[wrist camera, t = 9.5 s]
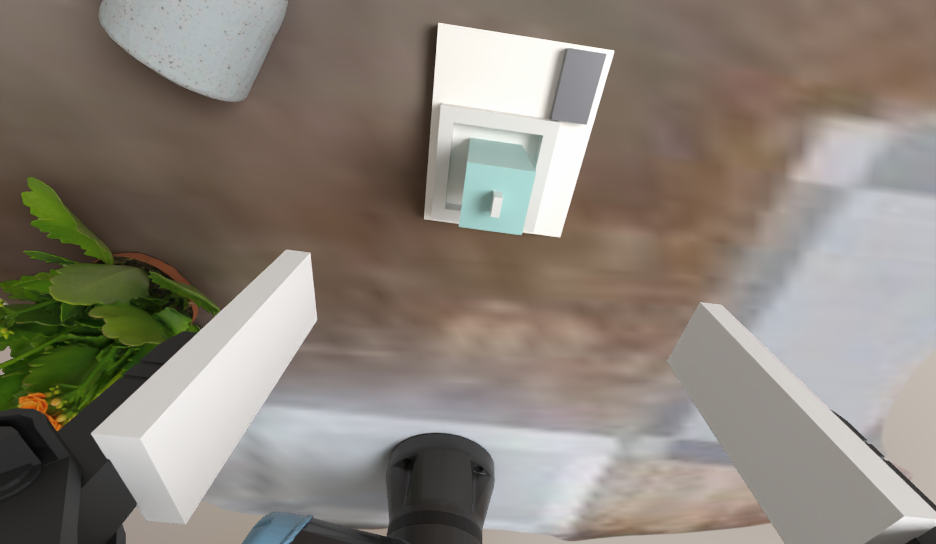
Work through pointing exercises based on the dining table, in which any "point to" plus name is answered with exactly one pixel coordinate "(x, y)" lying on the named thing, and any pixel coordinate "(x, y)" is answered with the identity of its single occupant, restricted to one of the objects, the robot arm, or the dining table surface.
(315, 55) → the dining table surface
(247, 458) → the dining table surface
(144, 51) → the ceramic mug
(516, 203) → the block
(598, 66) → the outlet plate
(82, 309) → the potted flower
